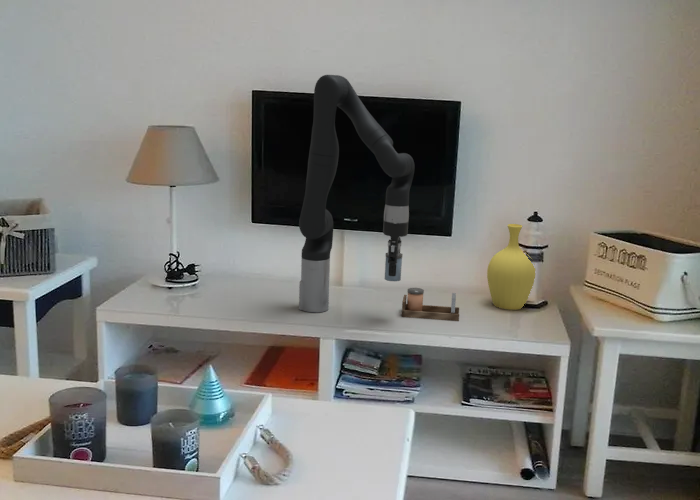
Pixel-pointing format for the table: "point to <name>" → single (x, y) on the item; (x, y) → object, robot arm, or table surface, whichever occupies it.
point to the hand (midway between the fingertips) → (392, 273)
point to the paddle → (453, 303)
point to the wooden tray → (430, 312)
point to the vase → (510, 274)
